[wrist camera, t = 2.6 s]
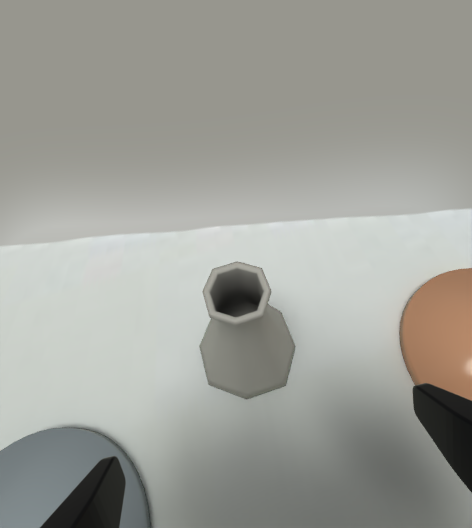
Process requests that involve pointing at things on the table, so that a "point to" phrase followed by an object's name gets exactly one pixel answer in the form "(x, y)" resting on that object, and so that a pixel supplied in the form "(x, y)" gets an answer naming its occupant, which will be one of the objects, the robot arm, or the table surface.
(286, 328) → the flask
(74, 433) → the slate dish
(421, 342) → the terracotta dish
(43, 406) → the table surface
